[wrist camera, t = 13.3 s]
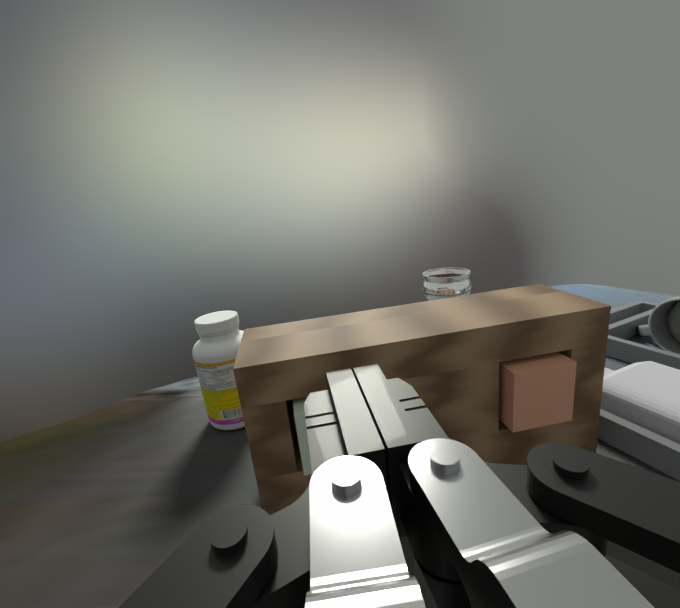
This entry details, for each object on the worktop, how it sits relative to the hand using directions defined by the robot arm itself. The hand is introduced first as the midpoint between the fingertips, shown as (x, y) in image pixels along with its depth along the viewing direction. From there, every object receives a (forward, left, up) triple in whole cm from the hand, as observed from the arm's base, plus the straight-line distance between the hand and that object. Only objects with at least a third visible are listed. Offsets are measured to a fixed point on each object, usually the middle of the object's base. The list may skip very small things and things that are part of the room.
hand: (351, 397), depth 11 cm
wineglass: (+30, +33, -19) cm, 49 cm away
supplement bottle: (-2, +33, -19) cm, 38 cm away
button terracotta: (+20, +10, -13) cm, 26 cm away
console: (+12, +15, -19) cm, 27 cm away
